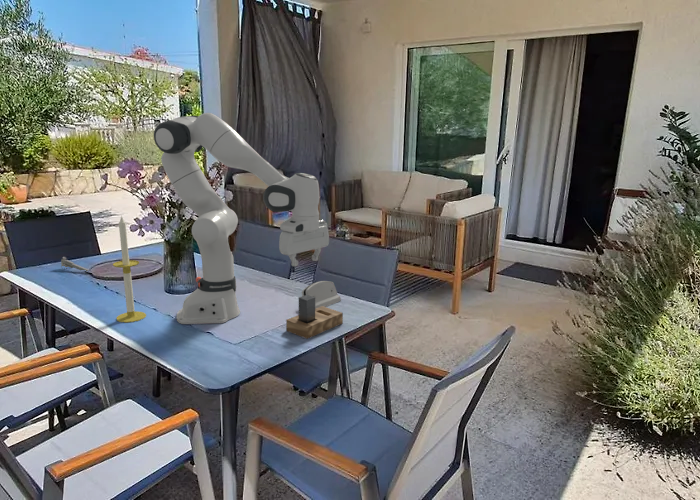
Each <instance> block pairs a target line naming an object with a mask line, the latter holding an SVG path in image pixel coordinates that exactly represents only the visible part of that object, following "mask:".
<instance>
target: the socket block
mask: <svg viewBox="0 0 700 500" xmlns="http://www.w3.org/2000/svg"><path fill="white" fill-rule="evenodd" d="M343 315H344V313H343V312H341V311H339V310H335V309H332V308H330V307H328V306H327V307H324V306H321V307H319V308H316V309H315V321H313V322H310V323H308V324H306V323H304V322H301V321H299V314H298V315H295V316H293V317H291V318H288V319H285V321H286V331H287V332H288V333H291V334H294V335H296V336H299V337H301V338H303V339H306V340H307V339H311V338H313V337H315V336H317V335H319V334H321V333H324V332H327V331H329V330H331V329H333V328H335V327H337V326H339V325H342V324H344V323H343V321H344V317H343Z"/></svg>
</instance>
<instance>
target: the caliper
mask: <svg viewBox="0 0 700 500" xmlns="http://www.w3.org/2000/svg"><path fill="white" fill-rule="evenodd" d="M60 264H61V267H62V266H65V267H68V268H70V269H73V268H74V269H76V270H79V271H81V270H86V271H88V270H89V269H88V268H87V267H83V266H81V265H78V264H76V263H75V262H73V261H71V260H69V259H67V257H66V256H63V257H62V258H61V261H60Z"/></svg>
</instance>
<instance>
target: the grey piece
mask: <svg viewBox="0 0 700 500" xmlns="http://www.w3.org/2000/svg"><path fill="white" fill-rule="evenodd" d="M305 295H309V296H312V297H315V309H316V308H319V307H321V306H324V307H327V308H328V307H330V306H331V304H332V305H335V304H336V303H339V301H340V302H342V298H341V296H340V294H338V291H337V288H336V286H335V283H334V282H333V281H330V280H329V281H328V280H320V281H315V282H313V283H312V284H310V285H307V286H306V287H304V289H303V290H302V291H301V297H302V296H305Z"/></svg>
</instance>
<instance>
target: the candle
mask: <svg viewBox="0 0 700 500" xmlns="http://www.w3.org/2000/svg"><path fill="white" fill-rule="evenodd" d="M120 216H121V217H120V221H119V222H118V229H119V238H120V239H119V241H120V248H121V258H122V260H119V261H116V262H114V263H113V264H112V266H113V267H114V268H120V269H121V268H122V275H123V285H124V296H125V304H126V305H125V306H126V312H124V313H121V314H119V315H117V316H116V319H117V320H116V319H115V320H116V321H117V322H118V323H123V322H124V323H127V324H128V323H135V321H136V322H139V321H141V319H142V320H143V319H145V318H146V317H147V314H146V312H143V311H135V300H134V291H133V281H132V271H131V268H132V267H135V266H138V265H139V264H140V262H139V260H136V259H130V256H129V246H128V245H129V244H128V236H127V234H128V233H127V223H126V221H125V220H124V219H123V216H122V215H120ZM124 323H123V324H124Z"/></svg>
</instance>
